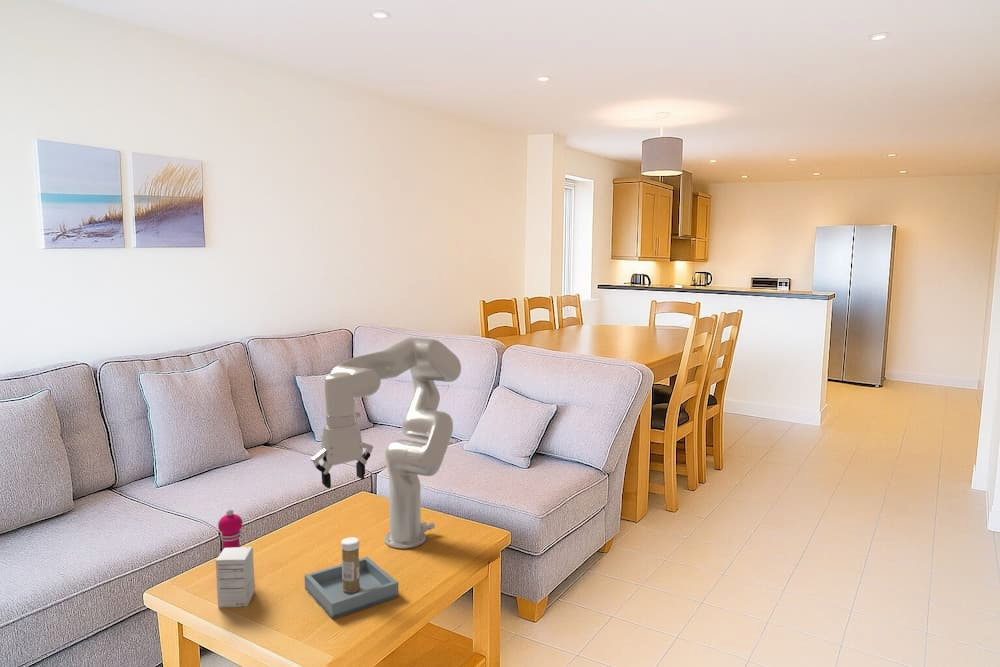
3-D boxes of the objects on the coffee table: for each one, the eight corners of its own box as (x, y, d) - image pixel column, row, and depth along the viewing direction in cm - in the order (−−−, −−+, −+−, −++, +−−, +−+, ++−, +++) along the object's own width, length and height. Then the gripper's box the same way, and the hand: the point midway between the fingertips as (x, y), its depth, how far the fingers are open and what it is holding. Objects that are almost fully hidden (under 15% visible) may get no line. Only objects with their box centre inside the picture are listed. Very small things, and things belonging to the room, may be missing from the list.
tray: (367, 570, 186) (367, 556, 186) (398, 597, 172) (398, 582, 172) (304, 589, 176) (304, 574, 175) (332, 619, 161) (331, 604, 161)
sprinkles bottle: (363, 588, 174) (362, 539, 173) (350, 595, 171) (349, 545, 169) (351, 583, 177) (350, 535, 175) (338, 590, 173) (337, 541, 172)
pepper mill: (252, 576, 182) (250, 506, 180) (234, 589, 175) (231, 516, 173) (231, 572, 184) (228, 502, 182) (212, 584, 178) (208, 512, 175)
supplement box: (226, 593, 173) (224, 546, 172) (255, 592, 174) (253, 546, 172) (216, 608, 166) (214, 560, 164) (247, 607, 167) (245, 559, 165)
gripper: (364, 411, 183) (366, 470, 186) (303, 423, 172) (307, 486, 175) (377, 417, 177) (379, 478, 180) (316, 429, 167) (319, 494, 169)
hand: (344, 482), depth 178 cm, fingers open, 9 cm apart
